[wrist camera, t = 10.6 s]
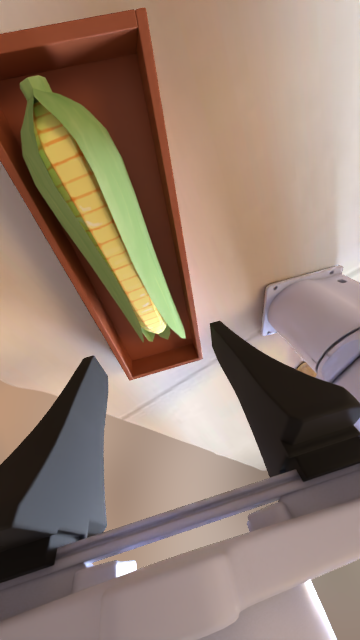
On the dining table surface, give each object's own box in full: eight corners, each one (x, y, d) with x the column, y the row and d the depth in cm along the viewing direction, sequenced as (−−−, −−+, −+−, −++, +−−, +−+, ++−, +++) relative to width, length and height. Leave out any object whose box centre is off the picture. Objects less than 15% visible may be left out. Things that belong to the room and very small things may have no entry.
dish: (141, 41, 11) (145, 6, 9) (196, 342, 26) (203, 359, 23) (-25, 74, 10) (-68, 45, 8) (129, 361, 25) (129, 380, 23)
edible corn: (92, 80, 11) (76, 37, 7) (187, 329, 24) (198, 357, 20) (8, 115, 11) (-48, 89, 8) (147, 344, 24) (151, 375, 20)
